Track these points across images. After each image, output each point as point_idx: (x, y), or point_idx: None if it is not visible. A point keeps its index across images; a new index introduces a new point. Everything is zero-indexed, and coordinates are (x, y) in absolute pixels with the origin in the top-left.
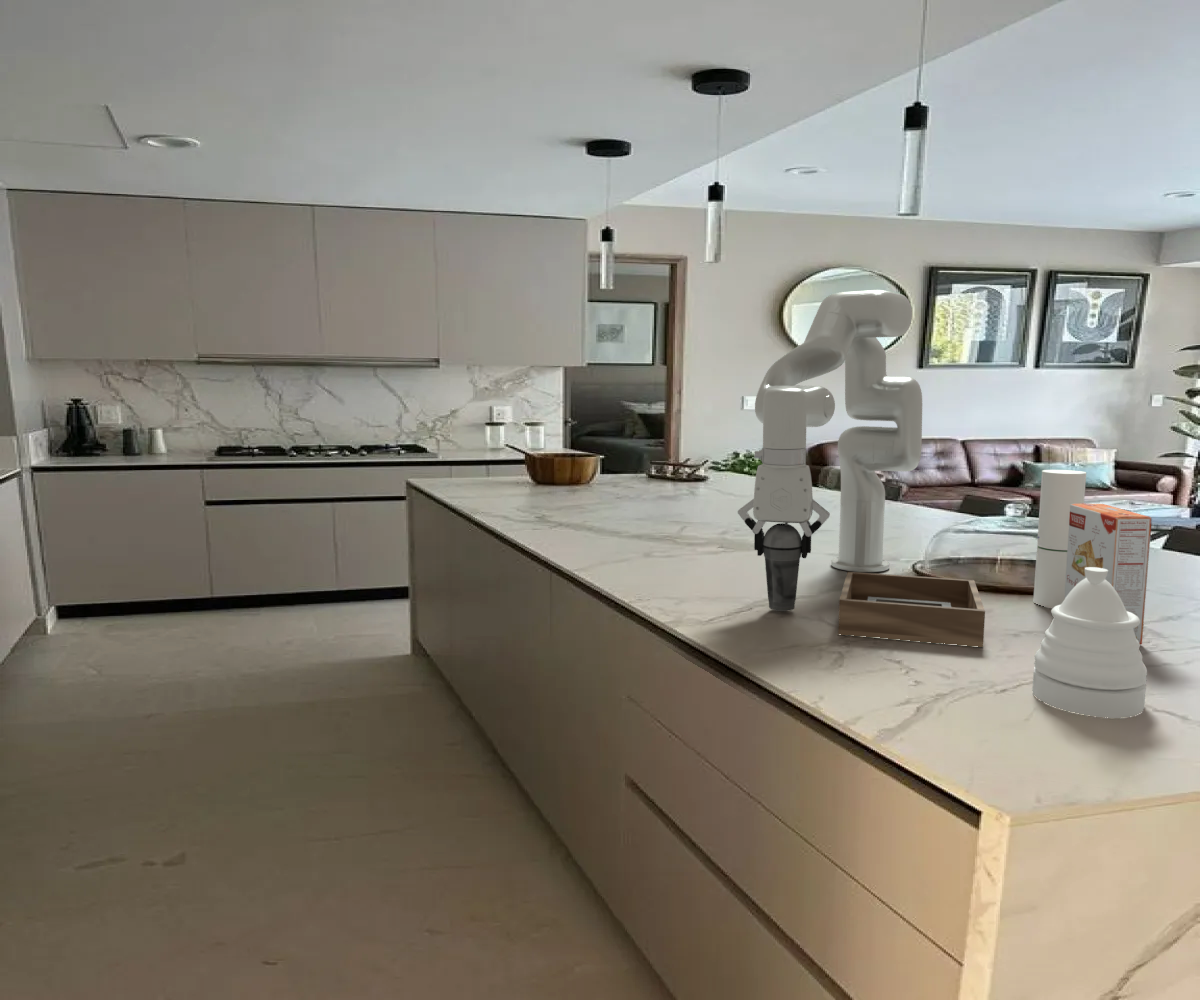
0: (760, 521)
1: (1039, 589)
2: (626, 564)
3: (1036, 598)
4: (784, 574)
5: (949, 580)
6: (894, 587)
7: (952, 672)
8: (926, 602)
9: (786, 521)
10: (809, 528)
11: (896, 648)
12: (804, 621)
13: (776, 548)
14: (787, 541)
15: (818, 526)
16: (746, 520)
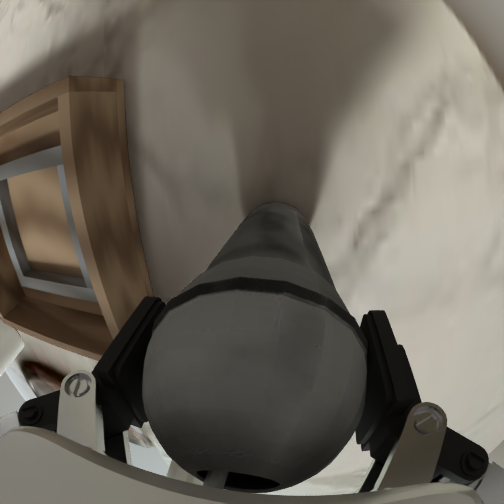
0: (409, 485)
1: (5, 339)
2: (489, 406)
3: (13, 335)
4: (250, 237)
5: (15, 322)
6: (74, 328)
7: (12, 23)
8: (35, 280)
9: (154, 483)
10: (60, 404)
11: (46, 66)
12: (207, 160)
13: (278, 288)
14: (191, 330)
15: (32, 404)
16: (483, 464)
